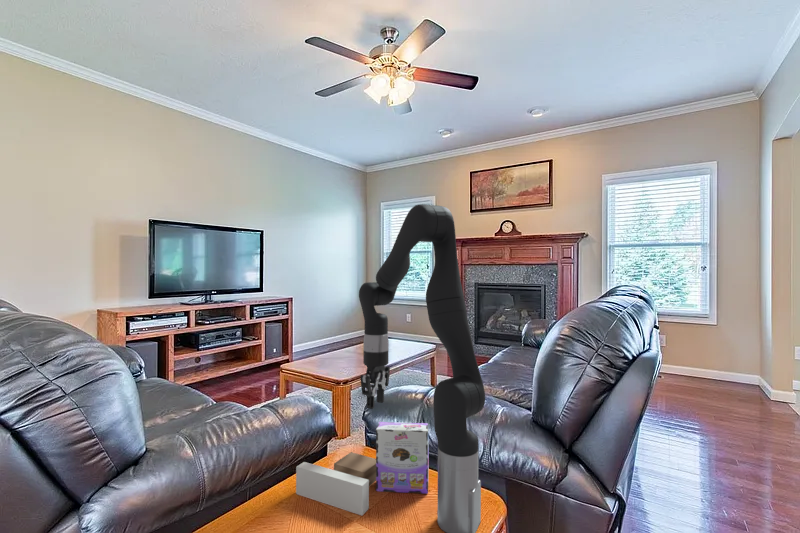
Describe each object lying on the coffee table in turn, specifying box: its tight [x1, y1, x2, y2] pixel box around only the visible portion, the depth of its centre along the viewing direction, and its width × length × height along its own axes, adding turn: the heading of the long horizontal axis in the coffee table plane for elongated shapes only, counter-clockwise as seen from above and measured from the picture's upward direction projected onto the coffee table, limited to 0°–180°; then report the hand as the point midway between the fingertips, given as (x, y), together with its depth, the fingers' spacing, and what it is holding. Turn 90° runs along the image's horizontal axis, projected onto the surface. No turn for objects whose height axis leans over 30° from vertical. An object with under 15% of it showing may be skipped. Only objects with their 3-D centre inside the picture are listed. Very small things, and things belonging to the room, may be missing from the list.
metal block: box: [333, 451, 376, 487], centre depth 110 cm, size 10×8×5 cm
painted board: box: [295, 461, 370, 516], centre depth 100 cm, size 20×3×7 cm, turn 64°
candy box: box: [375, 421, 430, 494], centre depth 106 cm, size 14×6×16 cm, turn 84°
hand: (375, 404), depth 119 cm, fingers open, 5 cm apart
